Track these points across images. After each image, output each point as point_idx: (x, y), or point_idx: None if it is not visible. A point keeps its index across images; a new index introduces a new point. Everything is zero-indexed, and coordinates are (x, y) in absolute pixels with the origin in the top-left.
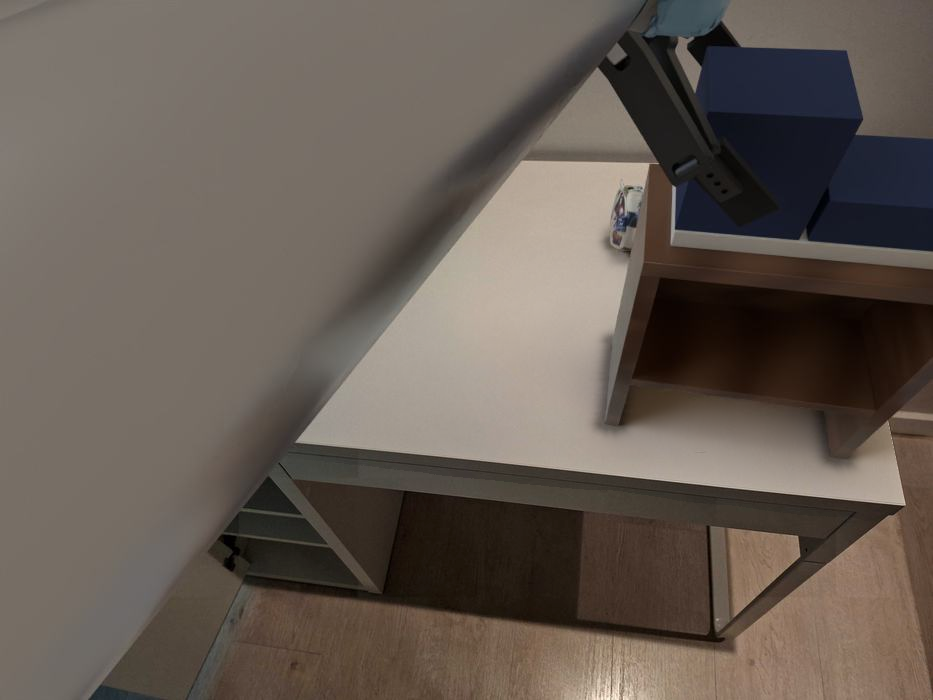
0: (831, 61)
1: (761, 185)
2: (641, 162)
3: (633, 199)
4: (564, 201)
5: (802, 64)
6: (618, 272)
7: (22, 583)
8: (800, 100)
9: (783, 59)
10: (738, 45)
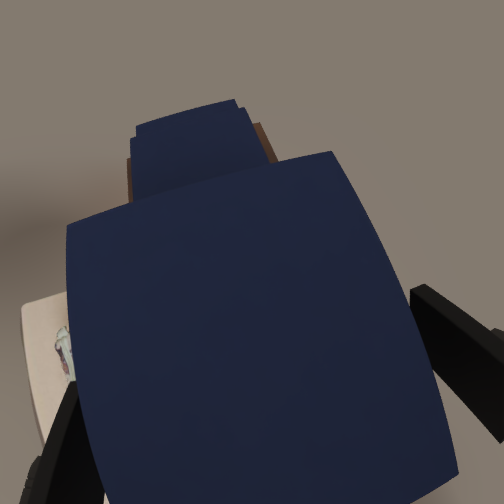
0: (110, 245)
1: (455, 310)
2: (44, 443)
3: None
4: (105, 500)
5: (139, 311)
6: None
7: None
8: (325, 281)
9: (127, 367)
10: (47, 461)
